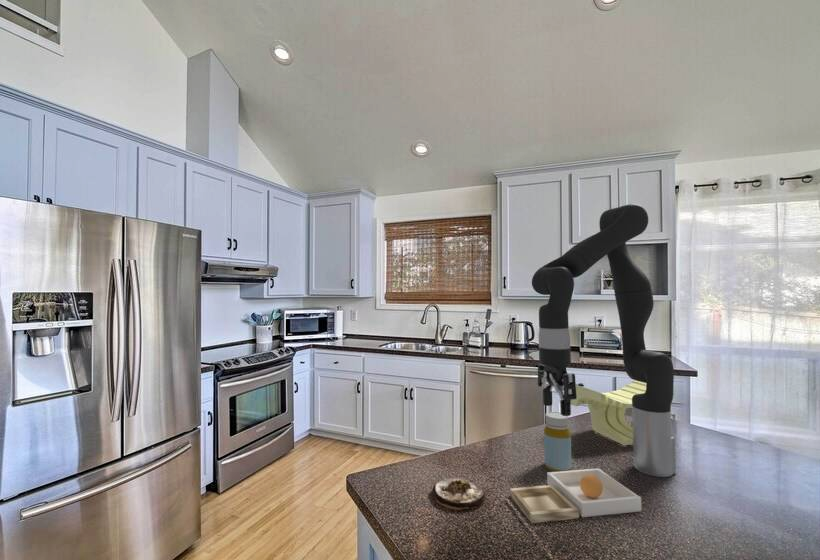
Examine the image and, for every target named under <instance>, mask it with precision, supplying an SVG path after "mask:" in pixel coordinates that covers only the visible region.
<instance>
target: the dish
mask: <svg viewBox="0 0 820 560" xmlns="http://www.w3.org/2000/svg"><path fill="white" fill-rule="evenodd" d="M546 474H547V475H546V478H547V482H546V483H547V485H553V486H554V487H555V488H556V489H557V490H558V491H559V492H560V493H561V494H562V495H563V496H564V497H566V498H567V499H568V500H569V501H570V502H571V503H572V504H573V505H574V506H575V507H576V508H577V509H578V510H579V517H580V516H581V518H588V517H598V516H608V515H616V514H617V515H618V514H625V513H626V514H627V513H629V514H630V513H636V512H642V496H640V495H638V494H636V493H635V492H634V491H632V490H631V489H629V488H628V487H626V485H623V484H622V483H620V482H619V481H618V480H616V479H615V478H614V477H612V476H610V475H609V474H607V473H606V472H605V471H603V470H602V469H600V468H586V469H574V470H573V469H571V470H570V471H560V472H555V471H550V472H546ZM587 474H591V475H594V476H596V477H597V478H598V479H599V480H600V481H601V483H602V486H603V491H602V493H601V495H600V496H599V497H597V498H591V497H588V496H586V495H585V494H584V493H583V492H582V490H581V488H580V480H581V478H582V477H583V476H584V475H587Z"/></svg>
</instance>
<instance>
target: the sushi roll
mask: <svg viewBox="0 0 820 560" xmlns="http://www.w3.org/2000/svg"><path fill="white" fill-rule="evenodd" d="M484 491H485V490H483V487H482V485H481V484H479V483H478V482H477V481H476V480H474V481H472V480H470V479H469V478H468V477H460V476H459V477H457V476H456V477H449V478H445V479H441V480H439V481H437V482H435V484H434V485H433V488H432V493H433V496H434V501H435V502H436V503H437V504H438V505H439V507H442V508H444V509H447V508H448V509H447V510H450V509H451V511H460V510H461V512H466V511H468V512H470V510H474V509H479V510H482V509H481V507H482V506H483V505H484V504H485V501H486V493H485V492H484Z"/></svg>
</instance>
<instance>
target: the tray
mask: <svg viewBox="0 0 820 560" xmlns="http://www.w3.org/2000/svg"><path fill="white" fill-rule="evenodd" d="M509 496H510V498H511V499H512V500H513V502H514V503H515V504H516V506H518V507H519V509H520V510H521V511H522V513H523V515H525V516H526V518H527V519H528V520H529V521H530V523H531V524H535V523H537V524H538V523H545V522H546V523H547V522H548V523H549V522H555V521H563V520H565V521H567V520H574V519H575V520H576V519H580V515H579V510H578V509H577V508H576V507H575V506H574V505H573V504H572V503H571V502H570V501H569V500H568V499H567V498H566V497H564V496H563V495H562V494H561V493H560V492H559V491H558V490H557V489H556V488H555V487H554V486H553V485H548V484H547V485H535V486H525V487H524V486H523V487H511V488H509Z"/></svg>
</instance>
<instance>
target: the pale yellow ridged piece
mask: <svg viewBox="0 0 820 560" xmlns="http://www.w3.org/2000/svg"><path fill="white" fill-rule="evenodd" d="M646 384H647V383H644V382H640V381H636V380H633V381H632V383H628V384H626V385H625V386H623V387H620V388H619V389H617V390H613V391H607V392H599V391H596V390H593V389H590V388H587V387H584V386H581V385H577V384H576V396H577V398H576V399H572V400H571V406H574V407H579V406H582V405H587V407H588V410H589V414H590V419H591V421H590V423H591V427H592V431H593V430H594V431H596V432H598V433H600V434H602V435H605V436H607V437H609V438H611V439H613V440H615V441H617V442H619V443H621V444H623V445H629V444H633V425H630V423H628V422H627V421H626V418H625V413H626V410H627V409H632V397H633V396H634V395H636V394H643V393H645V392H646ZM674 388H675V387H674V386H673V397H674V396H675V390H674ZM570 392H571V394H572V390H571V389H570ZM594 431H593V432H594Z"/></svg>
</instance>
